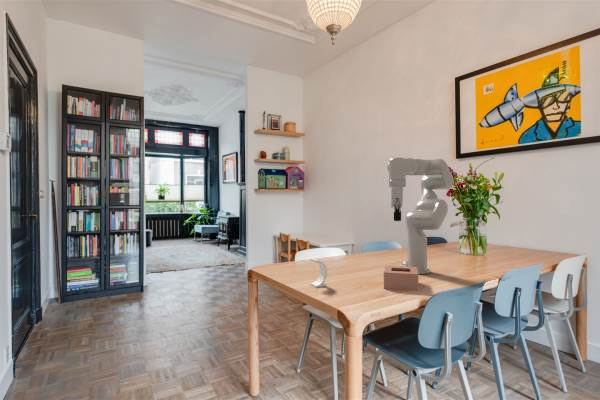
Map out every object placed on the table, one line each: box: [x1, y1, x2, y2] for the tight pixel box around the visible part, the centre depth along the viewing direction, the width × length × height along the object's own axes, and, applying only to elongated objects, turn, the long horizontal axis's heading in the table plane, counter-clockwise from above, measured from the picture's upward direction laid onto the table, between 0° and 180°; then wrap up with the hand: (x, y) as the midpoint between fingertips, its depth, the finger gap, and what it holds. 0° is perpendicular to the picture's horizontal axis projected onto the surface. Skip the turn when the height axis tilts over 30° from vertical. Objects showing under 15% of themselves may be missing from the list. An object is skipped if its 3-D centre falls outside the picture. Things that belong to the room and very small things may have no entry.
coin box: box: [383, 265, 419, 292], centre depth 144 cm, size 14×14×7 cm
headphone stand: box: [309, 258, 328, 289], centre depth 146 cm, size 5×6×12 cm
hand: (397, 220), depth 154 cm, fingers open, 9 cm apart
